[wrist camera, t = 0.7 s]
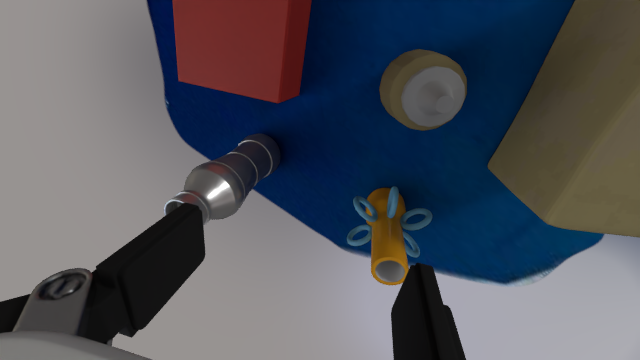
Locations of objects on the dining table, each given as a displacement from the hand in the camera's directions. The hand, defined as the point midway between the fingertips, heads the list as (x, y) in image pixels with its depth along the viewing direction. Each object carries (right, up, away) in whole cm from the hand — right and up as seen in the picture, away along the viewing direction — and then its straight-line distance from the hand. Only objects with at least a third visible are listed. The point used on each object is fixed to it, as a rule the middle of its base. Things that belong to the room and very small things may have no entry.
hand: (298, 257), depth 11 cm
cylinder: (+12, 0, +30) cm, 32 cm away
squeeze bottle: (+13, +16, +22) cm, 30 cm away
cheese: (+29, +15, +19) cm, 38 cm away
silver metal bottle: (-8, +8, +30) cm, 32 cm away
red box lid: (-8, +21, +15) cm, 27 cm away
